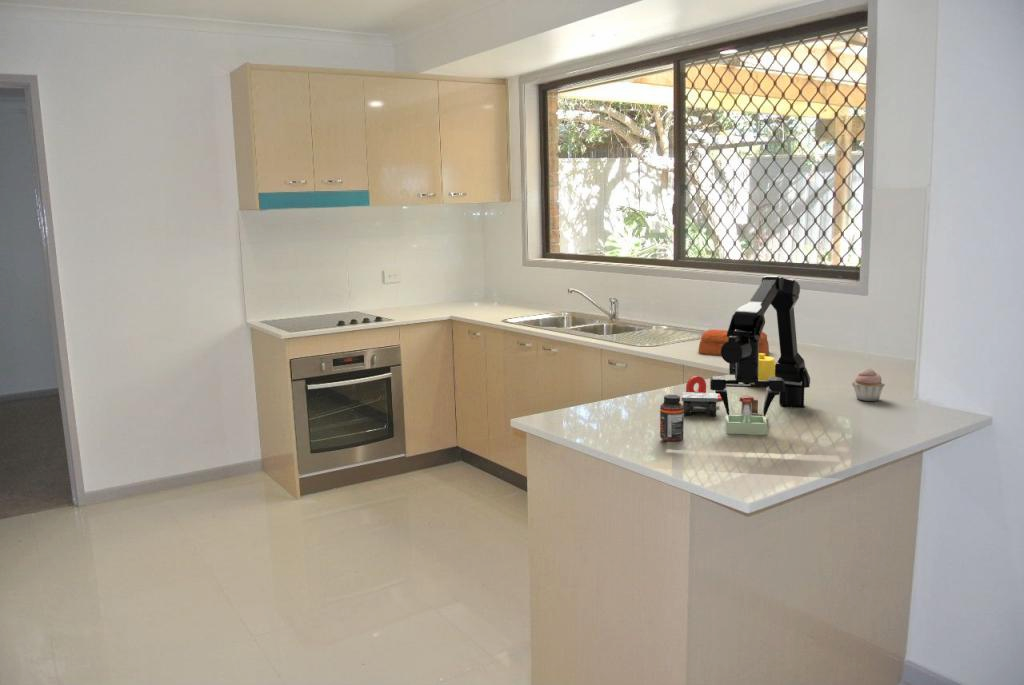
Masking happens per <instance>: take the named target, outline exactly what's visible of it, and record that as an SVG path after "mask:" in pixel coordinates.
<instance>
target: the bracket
mask: <svg viewBox="0 0 1024 685" xmlns="http://www.w3.org/2000/svg"><path fill="white" fill-rule="evenodd" d="M706 382H707V381H706V380H705V379H704V377H702V376H699V375H694V376H693V375H692V377H690V378H689V379H688V381H687V382H686V384H685V386H686V387H685V392H694V393H707V383H706ZM696 384H698V387H697V388H698V389H697V390H694V389H695V388H694V387H695V385H696ZM719 400H722V398H721V396H720V394H718V402H720V401H719ZM722 401H723V400H722Z"/></svg>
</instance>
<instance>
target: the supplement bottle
mask: <svg viewBox="0 0 1024 685" xmlns="http://www.w3.org/2000/svg"><path fill="white" fill-rule="evenodd" d="M659 409H660V410H659V414H660V418H659V423H660V424H659V429H660V431H659V436H660V439H662V440H663V441H666V442H679V441H682V440H684V424H685V423H684V422H685V421H684V420H685V419H684V416H685V415H684V407H683V403H681V396H680V395H677V394H666V395H664V396H663V403H661V404H660V408H659Z"/></svg>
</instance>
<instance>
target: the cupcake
mask: <svg viewBox="0 0 1024 685" xmlns="http://www.w3.org/2000/svg"><path fill="white" fill-rule="evenodd" d="M854 380H855V381H852V382H851V386H852V387H853V389H854V391H855V396H856V399H858V400H860V401H863V402H864V401H865V402H876V401H879V400H880V397H881V394H882V390H883V389H884V387H885V385H886V384H885V383H883V382H882V376H881V375H880V373H878V372H876V371H875V370H874V368H872V367H870V366H867V367H866V368H865V369H864V370H861V371H860V372H858V374H857V376H855V378H854Z"/></svg>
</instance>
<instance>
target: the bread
mask: <svg viewBox="0 0 1024 685" xmlns="http://www.w3.org/2000/svg"><path fill="white" fill-rule="evenodd" d="M727 332H728V330H725V329H708V330H707V331H704V332H703V333H702V335H701V338H700V341H699V345H698V351H697V353H698V354H699V355H706V356H707V355H708V356H709V355H710V356H721V349H722V346H723V345H724V344H725V343H726V342H728V338H729V337H727ZM760 336H761V338H760V339H759V353H764V354H766V355H765V356H768V357H769V355H770V351H769V350H770V347H769V346H770V345H769V341H768V335H767V334H766V332H764V331H762V332H761V335H760ZM721 357H722V356H721Z"/></svg>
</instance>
